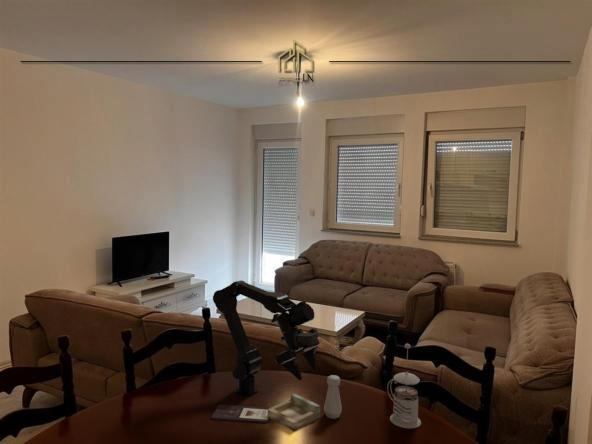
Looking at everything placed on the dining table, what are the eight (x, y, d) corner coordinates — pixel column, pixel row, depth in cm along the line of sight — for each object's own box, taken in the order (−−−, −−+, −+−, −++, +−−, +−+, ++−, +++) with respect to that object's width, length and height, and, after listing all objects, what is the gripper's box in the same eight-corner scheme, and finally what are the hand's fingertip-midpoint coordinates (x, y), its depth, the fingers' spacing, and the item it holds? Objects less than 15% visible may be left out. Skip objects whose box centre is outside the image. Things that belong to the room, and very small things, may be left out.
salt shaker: (329, 421, 136) (330, 381, 135) (320, 413, 141) (321, 375, 140) (345, 417, 138) (346, 378, 138) (335, 410, 144) (336, 372, 143)
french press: (409, 431, 131) (412, 351, 130) (379, 417, 139) (381, 341, 138) (427, 421, 137) (429, 344, 136) (396, 407, 146) (399, 335, 145)
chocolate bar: (218, 404, 145) (271, 408, 143) (218, 407, 145) (271, 410, 143) (210, 417, 136) (266, 421, 134) (210, 420, 136) (266, 424, 134)
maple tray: (267, 416, 138) (267, 404, 138) (293, 404, 147) (294, 393, 146) (293, 431, 130) (293, 418, 130) (319, 417, 138) (320, 405, 138)
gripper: (291, 328, 132) (312, 377, 129) (321, 316, 148) (340, 359, 144) (266, 340, 138) (285, 387, 134) (298, 326, 153) (315, 368, 150)
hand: (308, 375), depth 140 cm, fingers open, 9 cm apart
